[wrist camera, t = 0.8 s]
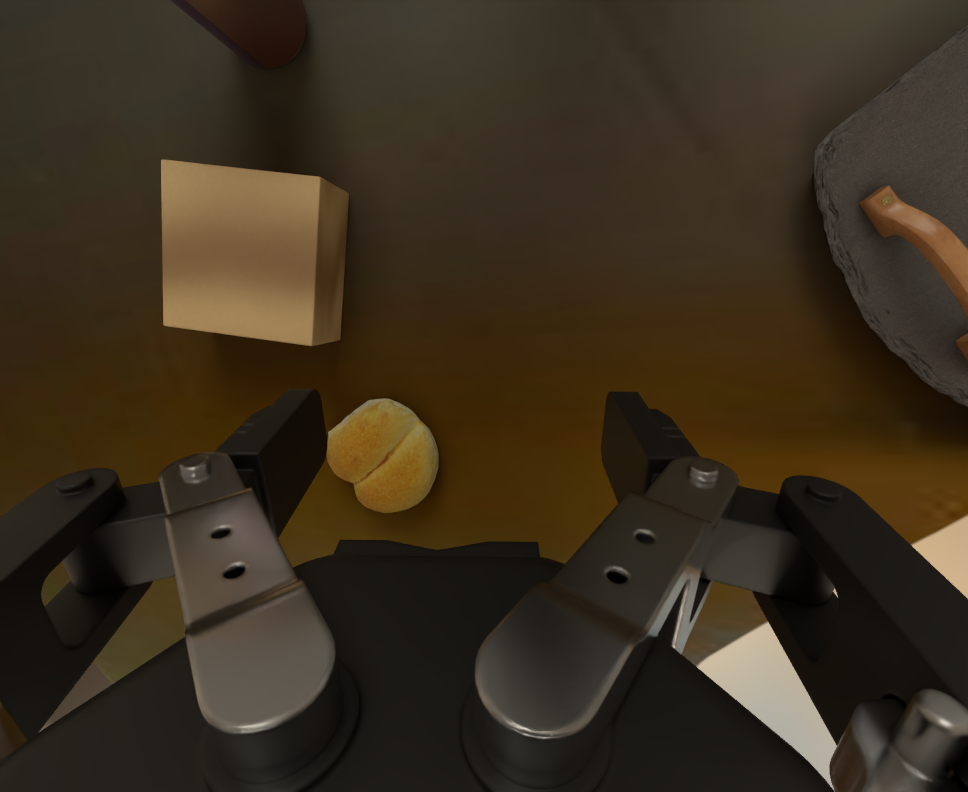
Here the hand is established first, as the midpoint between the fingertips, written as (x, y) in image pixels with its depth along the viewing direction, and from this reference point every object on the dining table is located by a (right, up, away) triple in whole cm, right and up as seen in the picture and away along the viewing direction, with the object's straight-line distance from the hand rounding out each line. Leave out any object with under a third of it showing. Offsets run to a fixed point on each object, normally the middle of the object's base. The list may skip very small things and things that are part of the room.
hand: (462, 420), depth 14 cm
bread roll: (-7, -4, +26) cm, 27 cm away
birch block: (-15, +11, +24) cm, 31 cm away
